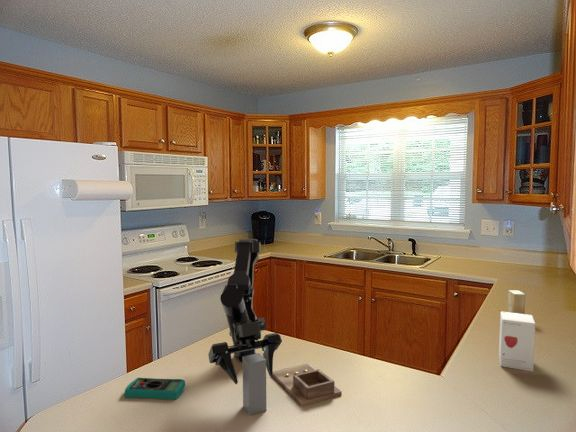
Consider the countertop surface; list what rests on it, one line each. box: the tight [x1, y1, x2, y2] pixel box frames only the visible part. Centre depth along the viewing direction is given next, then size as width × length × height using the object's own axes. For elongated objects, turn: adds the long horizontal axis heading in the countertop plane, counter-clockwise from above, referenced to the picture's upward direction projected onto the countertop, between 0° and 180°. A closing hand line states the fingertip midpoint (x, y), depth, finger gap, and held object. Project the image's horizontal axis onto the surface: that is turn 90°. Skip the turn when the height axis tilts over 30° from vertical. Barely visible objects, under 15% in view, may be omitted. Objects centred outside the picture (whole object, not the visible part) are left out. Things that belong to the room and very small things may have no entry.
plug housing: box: [242, 352, 267, 416], centre depth 101 cm, size 4×4×13 cm
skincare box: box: [507, 289, 527, 314], centre depth 165 cm, size 6×4×12 cm
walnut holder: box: [271, 363, 343, 407], centre depth 113 cm, size 19×12×4 cm, turn 26°
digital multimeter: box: [124, 377, 186, 401], centre depth 110 cm, size 7×15×3 cm, turn 85°
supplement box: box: [498, 311, 536, 373], centre depth 126 cm, size 9×9×15 cm
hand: (254, 379), depth 101 cm, fingers open, 9 cm apart
